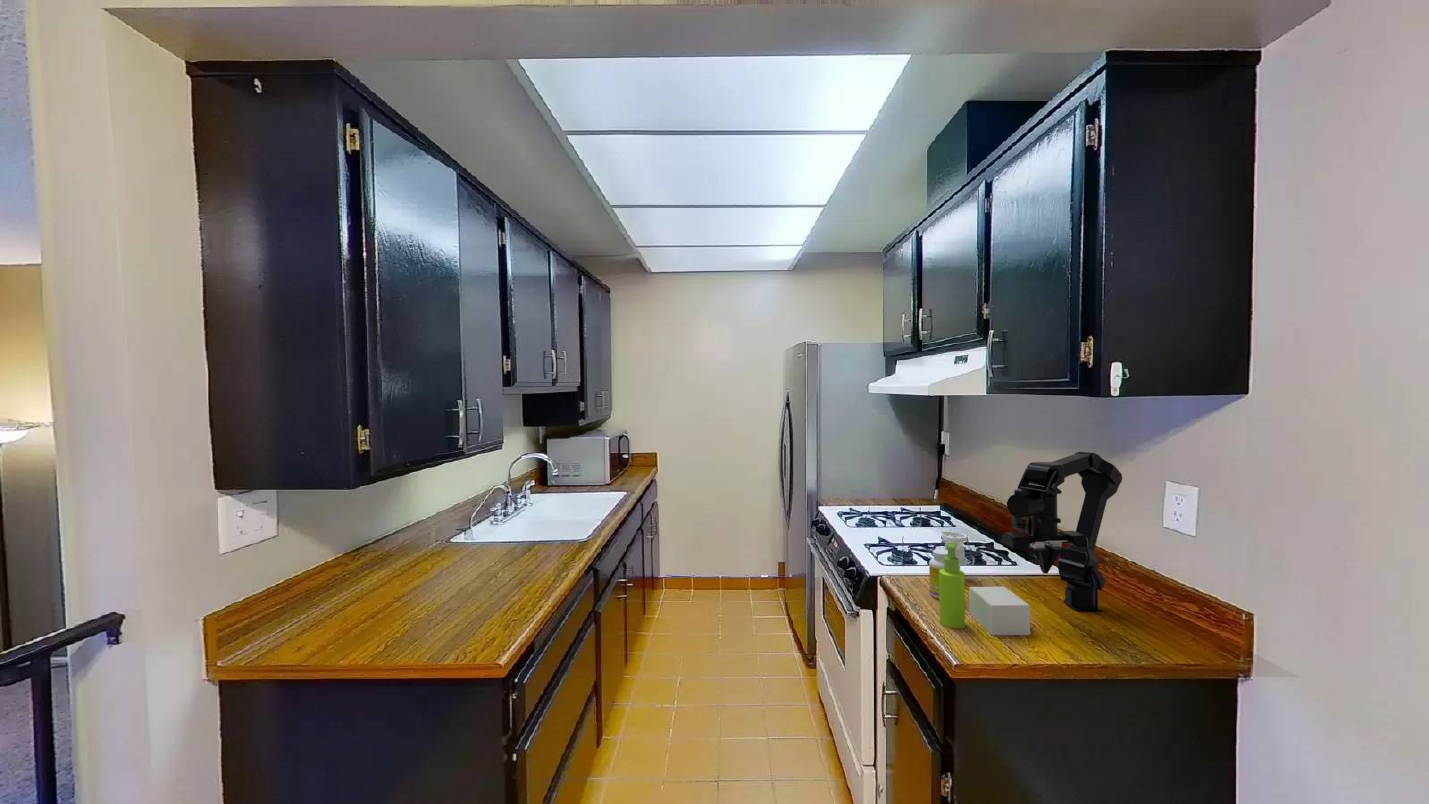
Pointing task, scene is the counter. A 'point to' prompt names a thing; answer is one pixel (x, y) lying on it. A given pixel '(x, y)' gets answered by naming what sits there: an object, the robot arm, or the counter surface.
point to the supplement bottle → (936, 571)
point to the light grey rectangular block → (999, 611)
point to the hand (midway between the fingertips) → (1044, 573)
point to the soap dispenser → (952, 591)
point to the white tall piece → (959, 547)
